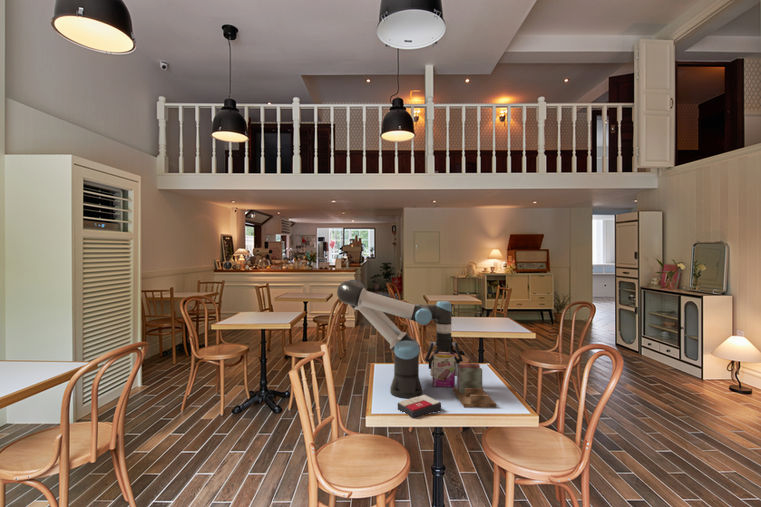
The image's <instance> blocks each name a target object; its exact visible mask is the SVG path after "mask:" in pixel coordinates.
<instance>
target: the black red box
mask: <svg viewBox="0 0 761 507" xmlns="http://www.w3.org/2000/svg"><path fill="white" fill-rule="evenodd" d="M397 410H398V411H399V410H400V412H401V411H402V412H401V413H403V412H405V413H406V414H408V415H409V416H410V418H411V419H418V418H421V417H423V416H422V415H425V416H427V415H426V414H428V415H430V414H429V413H431V414H434V413H433V412H436V413H439V412H438V411H440V412H442V403H441V402H440V401H439V400H436V399H434V398H433V397H430V396H428V395H426V394H422V395H421V396H419V397H414V398H406V399H404V400H401V401H398V402H397ZM406 414H405V415H406ZM408 415H407V416H408ZM409 416H408V417H409Z"/></svg>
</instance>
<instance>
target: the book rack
mask: <svg viewBox="0 0 761 507" xmlns="http://www.w3.org/2000/svg"><path fill="white" fill-rule="evenodd" d="M452 392H453V393H454V395H455V396H456V398H457V399H458V401H459V403H460V404H461V405H462V406H463V408H497V403H496V402H495V401H494V400H493V398H491V397H490V395H489V394H487V392H486V391H485V390H484V388H483V369H482V368H481V365H480V363H473V362H471V363H468V362H467V363H462V362H460V363H459V364H457V376H456V387H455V388H453V387H452Z"/></svg>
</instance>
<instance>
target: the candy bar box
mask: <svg viewBox="0 0 761 507" xmlns="http://www.w3.org/2000/svg"><path fill="white" fill-rule="evenodd" d="M453 353H454V354H451V353H450V352H446V351H439V352H438V354H434V351H432V354H433V361H432V362H433V376H431V377H432V378H431V379H432V381H431V383H432V387H433V388H434V387H437V388H452V389H453V388H456V386H455V385H456V376H455V362H456V361H455V356H456V354H455V352H453Z"/></svg>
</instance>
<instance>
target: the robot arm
mask: <svg viewBox="0 0 761 507" xmlns="http://www.w3.org/2000/svg"><path fill="white" fill-rule="evenodd" d="M336 296H337V299H338V300H339V301H340V302H341V303H342V304H345V305H350V307H351V308H352V309H353V310H355V311H356V310H357V311H359V312H360V313H361V314H362V315H363V317H364V318H365V319H366V320H367V321H368V322H369V323H370V324H371V325H372V326H373V327H374V329H376V330H377V332H378V333H379V334H380V335H381V336H382V337H383V338H384V339H385V341H387V343H389V349H390V350H391V351H392V352H393V353H394V357H393V358H394V361H393V362H394V363H393V364H394V366H393V367H394V368H393V374H394V375H393V378H392V381H391V384H390V387H389V388H390V389H389V392H390V394H391V395H392V396H393V397H396V398H402V399H411V398H414V397H419V396H422V395H423V387H422V383H421V381H420V378H419V374H420V373H419V369H420V368H419V367H420V365H419V364H420V363H419V361H420V355H421V346H420V344H419V342H418V341H417V340H416V339H415V338H413V337H411V336H410V335H409V334H408V333H407V332H404V331H402V330H400V328H398V326H397V325H396V324H395V323H394V322H393V321H392V320H391V319H390V318H389V317H388V315H392V316H396V317H400V318H403V319H406V320H410V321H413V322H417V323H418V324H419V325H423V326H425V325H428V324H429V323H430V322H431V321H436V331H437V332H436V336H435V337H436V338H435V342H433V341H430V342H429V348H428V350H427V353H426V354H425V358H424V360H425V362H428V369H429V370H430V376H431V377H432V376H433V352H434V354H438V352H448V353H451V354H454V353H455V352H456V354H457V356H456V355H455V377H457V364H459V363H462V362H463V361H464V360H463V357H462V354H461V352H460V349H459V344H458V342H457V341H454V342H453V341H452V315H453V314H452V311H453V309H452V303H451V302H450V301H448V300H446V301H445V300H444V301H443V300H441V301H436V303H435V304H433V305H431V304H412V303H409V302H407V301H403V300H400V299H396V298H391V297H388V296H385V295H382V294H379V293H375V292H372V291H368V290H367V289H366V287H365V285H364V284H363V283H362V282H361V281H360V280H357V279H349V280H346V281H344V282H341V283H339V286H338V287H337V290H336ZM385 313H386V314H385ZM387 314H388V315H387ZM435 346H436V348H435V350H434V351H433V348H434V347H435ZM452 346H453V347H454V349H455V352H453V350H452V348H451V347H452Z"/></svg>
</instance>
